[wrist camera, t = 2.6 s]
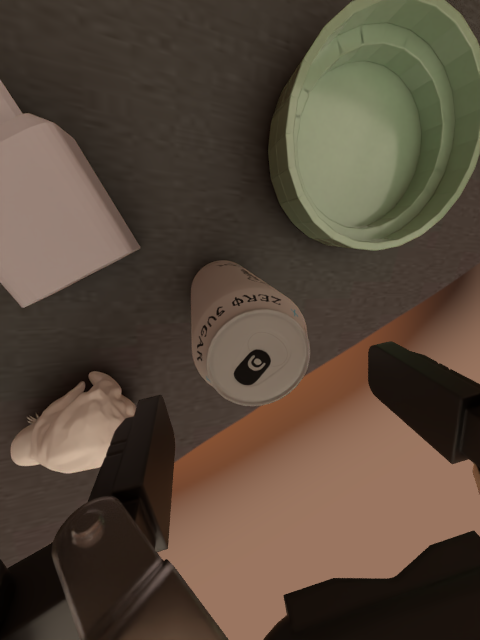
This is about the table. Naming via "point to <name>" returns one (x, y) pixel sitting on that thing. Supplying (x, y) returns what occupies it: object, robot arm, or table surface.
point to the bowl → (378, 124)
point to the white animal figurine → (74, 428)
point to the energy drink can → (246, 335)
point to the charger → (51, 209)
